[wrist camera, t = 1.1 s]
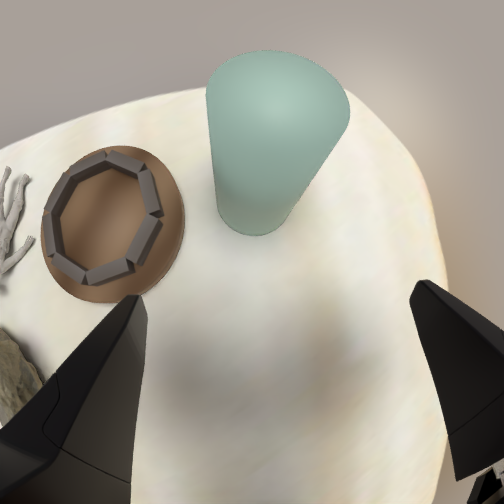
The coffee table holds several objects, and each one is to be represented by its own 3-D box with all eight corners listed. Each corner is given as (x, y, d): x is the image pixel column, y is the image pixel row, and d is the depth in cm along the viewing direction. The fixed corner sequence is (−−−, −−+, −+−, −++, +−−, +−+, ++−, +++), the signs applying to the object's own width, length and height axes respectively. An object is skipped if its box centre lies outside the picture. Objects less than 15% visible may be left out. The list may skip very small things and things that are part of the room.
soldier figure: (52, 183, 23) (21, 293, 17) (43, 206, 25) (19, 305, 20) (-5, 158, 17) (-50, 267, 12) (-9, 185, 20) (-42, 284, 14)
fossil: (69, 350, 23) (-9, 320, 18) (50, 365, 14) (-54, 317, 10) (63, 464, 18) (-12, 436, 14) (55, 515, 9) (-44, 472, 5)
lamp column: (300, 185, 23) (362, 84, 11) (272, 248, 22) (326, 181, 9) (236, 157, 23) (245, 37, 11) (203, 216, 22) (177, 118, 9)
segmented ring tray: (212, 187, 23) (210, 168, 19) (141, 331, 20) (125, 337, 17) (97, 140, 23) (83, 121, 19) (33, 259, 20) (11, 253, 17)
